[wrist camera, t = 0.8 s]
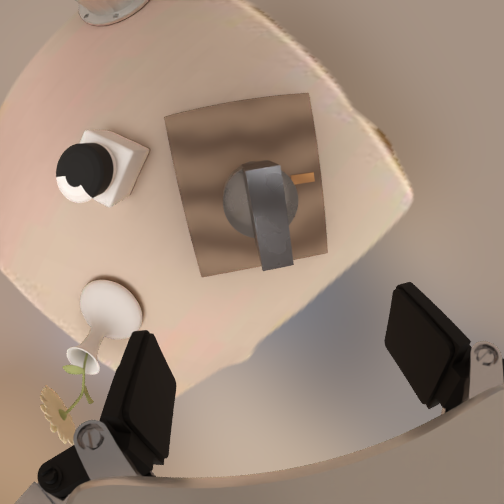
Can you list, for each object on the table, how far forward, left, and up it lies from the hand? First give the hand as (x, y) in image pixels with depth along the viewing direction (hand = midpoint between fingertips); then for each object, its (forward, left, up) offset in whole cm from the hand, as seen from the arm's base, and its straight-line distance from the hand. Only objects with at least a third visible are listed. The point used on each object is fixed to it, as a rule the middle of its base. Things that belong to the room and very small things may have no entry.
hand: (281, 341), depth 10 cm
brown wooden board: (-1, +2, -28) cm, 28 cm away
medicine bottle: (-8, -15, -29) cm, 33 cm away
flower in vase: (+14, -24, -29) cm, 40 cm away
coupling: (0, +2, -21) cm, 21 cm away
